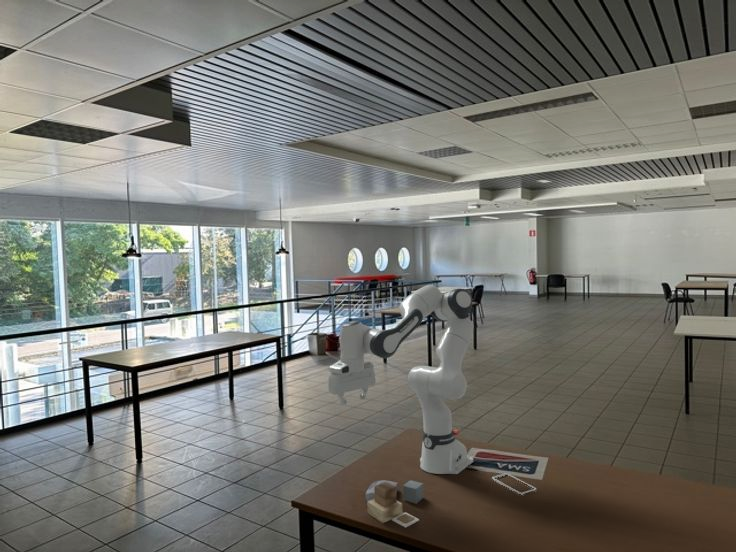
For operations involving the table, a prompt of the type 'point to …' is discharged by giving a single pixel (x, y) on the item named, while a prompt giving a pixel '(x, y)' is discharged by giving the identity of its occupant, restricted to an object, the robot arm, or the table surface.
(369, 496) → the stone block
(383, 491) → the walnut cube
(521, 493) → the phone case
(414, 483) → the slate cube
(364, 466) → the table surface
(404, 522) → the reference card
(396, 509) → the oak base block
